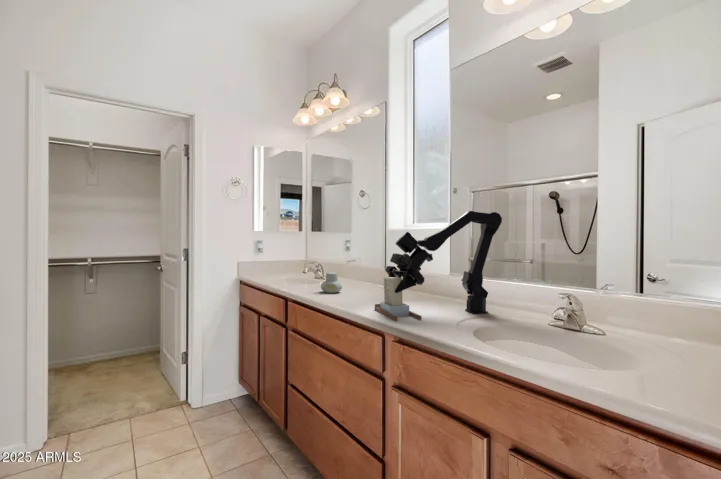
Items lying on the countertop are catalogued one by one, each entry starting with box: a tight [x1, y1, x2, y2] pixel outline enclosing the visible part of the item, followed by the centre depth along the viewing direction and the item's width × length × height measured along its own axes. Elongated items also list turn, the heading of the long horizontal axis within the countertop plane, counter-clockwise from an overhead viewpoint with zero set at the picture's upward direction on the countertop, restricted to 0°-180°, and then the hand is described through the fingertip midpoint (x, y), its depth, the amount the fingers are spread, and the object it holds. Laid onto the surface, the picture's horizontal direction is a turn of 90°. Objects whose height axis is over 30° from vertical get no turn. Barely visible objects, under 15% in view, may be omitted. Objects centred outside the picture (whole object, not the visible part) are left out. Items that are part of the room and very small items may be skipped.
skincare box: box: [383, 276, 404, 306], centre depth 131 cm, size 6×4×12 cm
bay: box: [374, 303, 422, 322], centre depth 129 cm, size 10×20×2 cm, turn 18°
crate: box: [379, 301, 410, 317], centre depth 131 cm, size 8×10×4 cm
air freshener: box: [320, 272, 343, 294], centre depth 180 cm, size 11×8×10 cm
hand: (390, 291), depth 130 cm, fingers open, 6 cm apart
